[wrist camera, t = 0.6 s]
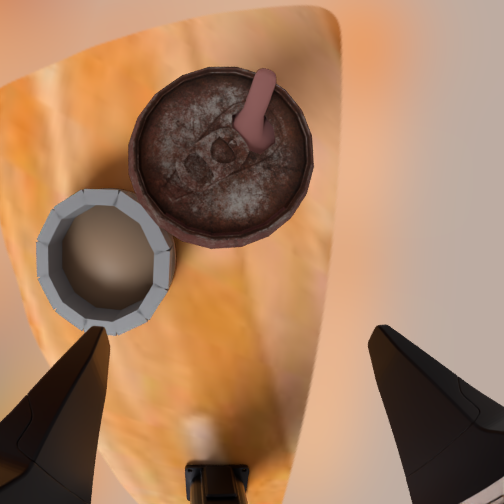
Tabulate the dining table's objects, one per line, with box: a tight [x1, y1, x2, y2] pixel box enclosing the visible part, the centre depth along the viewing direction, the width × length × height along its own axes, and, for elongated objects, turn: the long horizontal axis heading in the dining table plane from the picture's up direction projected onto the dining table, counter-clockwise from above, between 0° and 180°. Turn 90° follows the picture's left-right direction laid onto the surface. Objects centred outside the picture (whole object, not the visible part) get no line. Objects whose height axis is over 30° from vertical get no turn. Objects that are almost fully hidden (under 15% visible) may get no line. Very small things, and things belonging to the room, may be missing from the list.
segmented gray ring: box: [36, 188, 176, 336], centre depth 20 cm, size 10×10×4 cm
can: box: [128, 67, 314, 249], centre depth 15 cm, size 6×6×14 cm
